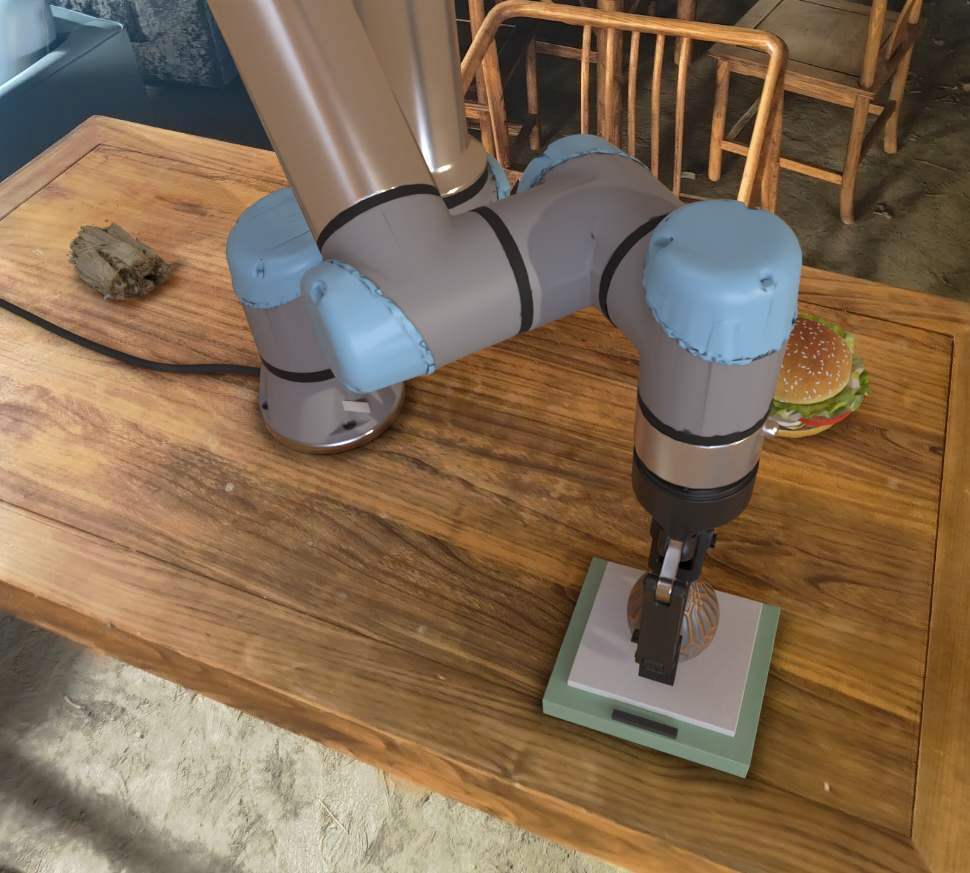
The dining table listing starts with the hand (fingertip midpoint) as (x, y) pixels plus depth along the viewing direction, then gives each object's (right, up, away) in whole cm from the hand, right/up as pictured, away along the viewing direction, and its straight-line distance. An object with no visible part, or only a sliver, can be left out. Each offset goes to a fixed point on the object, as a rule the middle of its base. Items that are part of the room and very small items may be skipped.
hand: (668, 634), depth 73 cm
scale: (0, -3, +3) cm, 4 cm away
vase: (0, 0, 0) cm, 0 cm away
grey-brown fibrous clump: (-59, +35, +42) cm, 81 cm away
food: (+16, +19, +21) cm, 33 cm away
